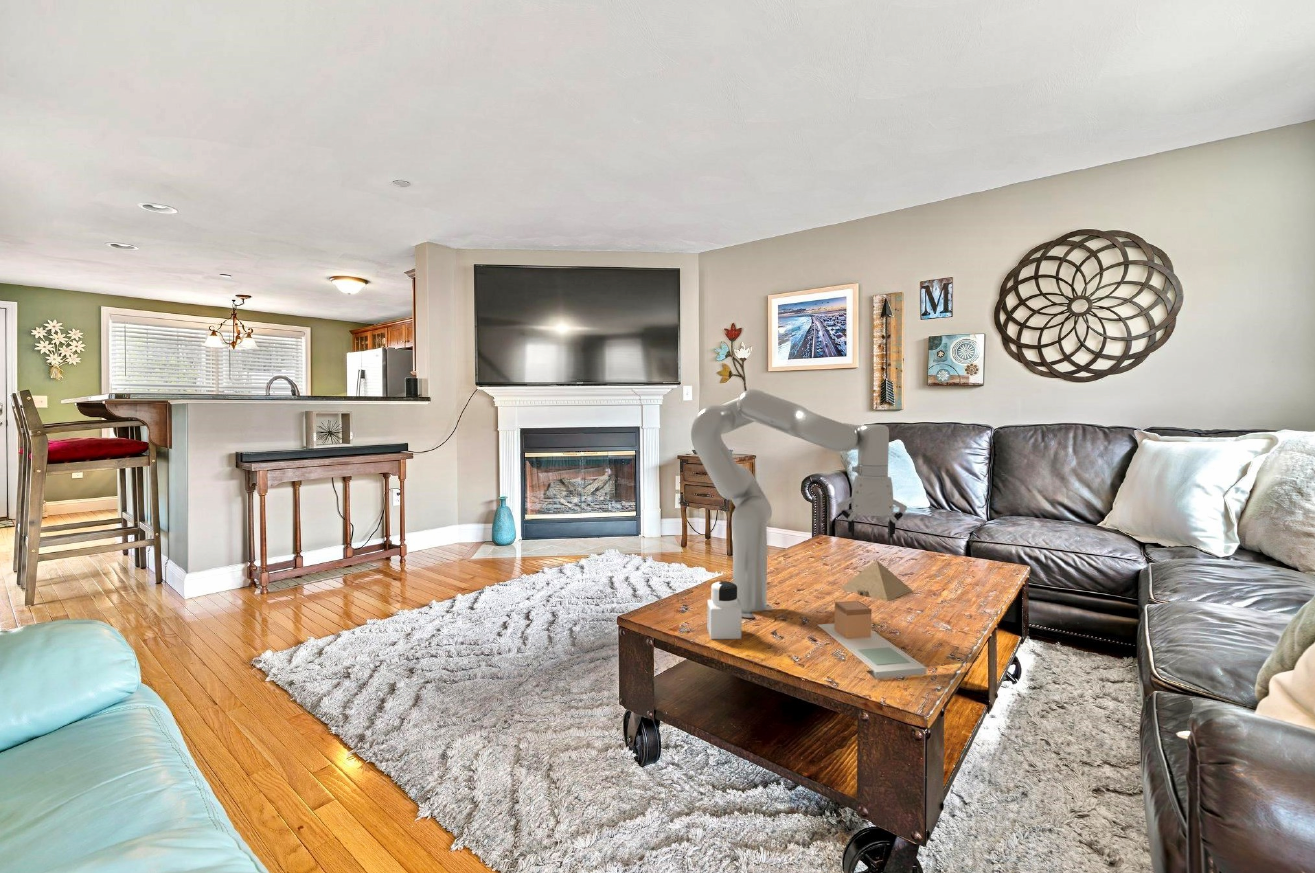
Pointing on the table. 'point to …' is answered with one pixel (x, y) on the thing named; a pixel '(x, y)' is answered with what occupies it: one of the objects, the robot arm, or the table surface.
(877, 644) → the post board
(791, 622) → the table surface
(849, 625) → the brown block
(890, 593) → the model pyramid
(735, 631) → the container
